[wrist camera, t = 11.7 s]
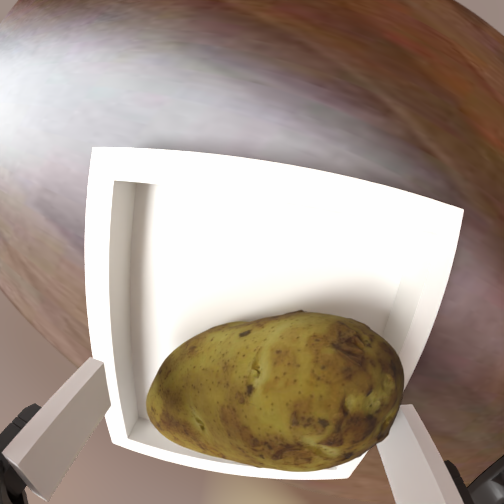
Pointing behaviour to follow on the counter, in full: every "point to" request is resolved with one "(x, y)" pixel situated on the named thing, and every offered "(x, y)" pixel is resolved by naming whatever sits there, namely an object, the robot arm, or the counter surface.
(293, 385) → the potato
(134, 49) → the counter surface
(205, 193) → the tray
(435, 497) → the robot arm
